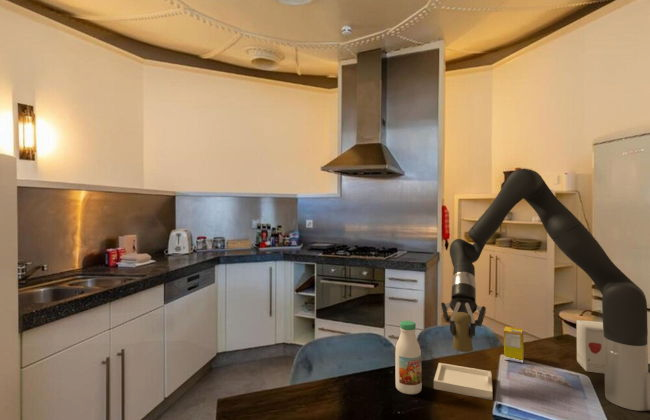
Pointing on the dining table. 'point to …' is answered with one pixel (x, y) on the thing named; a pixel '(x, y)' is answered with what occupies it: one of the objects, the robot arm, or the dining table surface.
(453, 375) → the tray
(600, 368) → the supplement box
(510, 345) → the supplement box
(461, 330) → the cork
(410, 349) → the milk bottle
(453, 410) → the dining table surface
